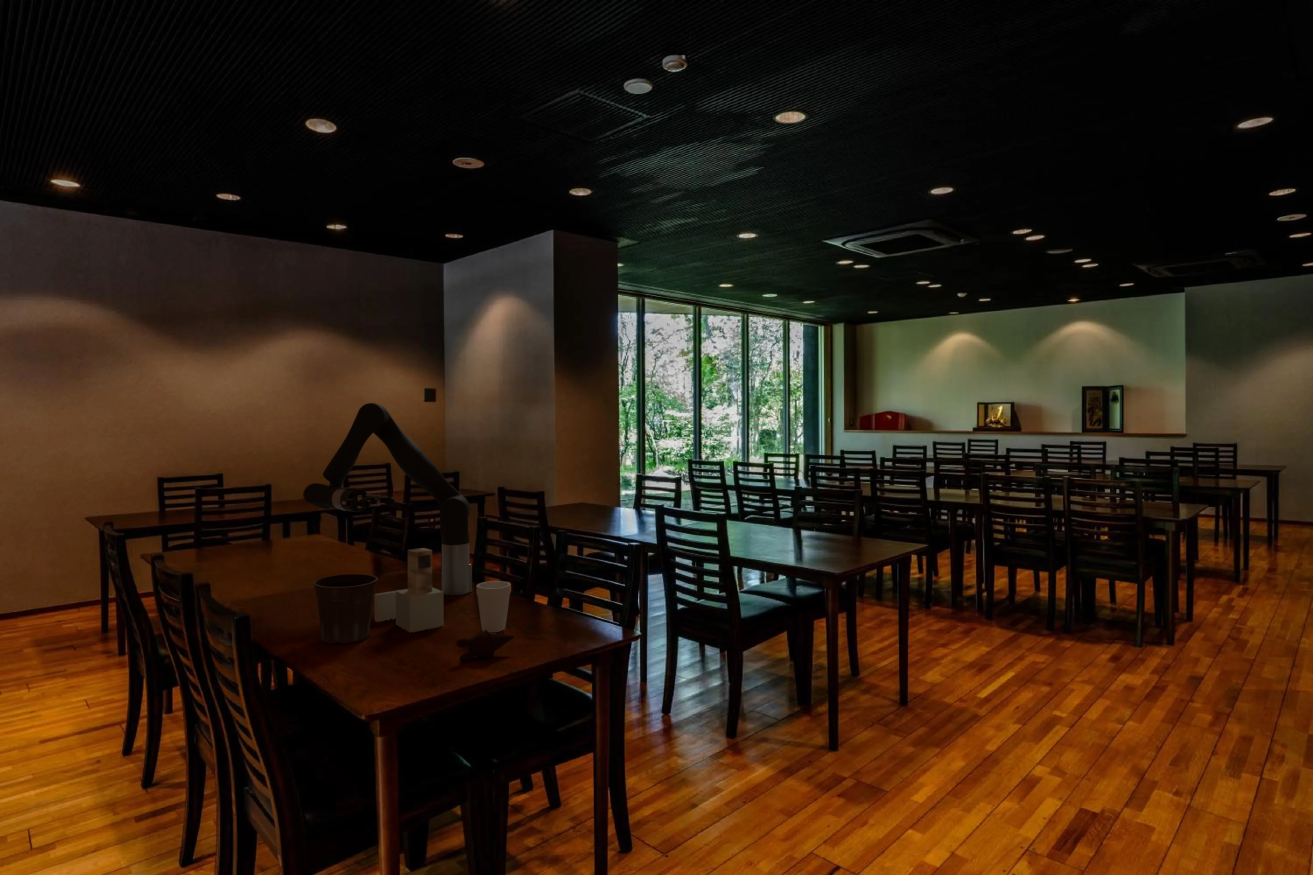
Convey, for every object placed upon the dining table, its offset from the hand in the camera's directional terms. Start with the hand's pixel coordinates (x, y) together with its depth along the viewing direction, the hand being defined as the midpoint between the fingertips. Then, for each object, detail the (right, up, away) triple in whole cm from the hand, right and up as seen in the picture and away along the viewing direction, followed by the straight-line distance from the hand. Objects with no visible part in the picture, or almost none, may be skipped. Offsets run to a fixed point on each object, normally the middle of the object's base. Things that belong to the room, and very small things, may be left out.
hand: (381, 502), depth 223 cm
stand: (+16, -34, -14) cm, 41 cm away
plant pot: (0, -35, -26) cm, 44 cm away
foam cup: (+39, -35, -18) cm, 55 cm away
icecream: (+42, -36, -41) cm, 69 cm away
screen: (+8, -34, -5) cm, 35 cm away
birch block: (+17, -24, -14) cm, 33 cm away
